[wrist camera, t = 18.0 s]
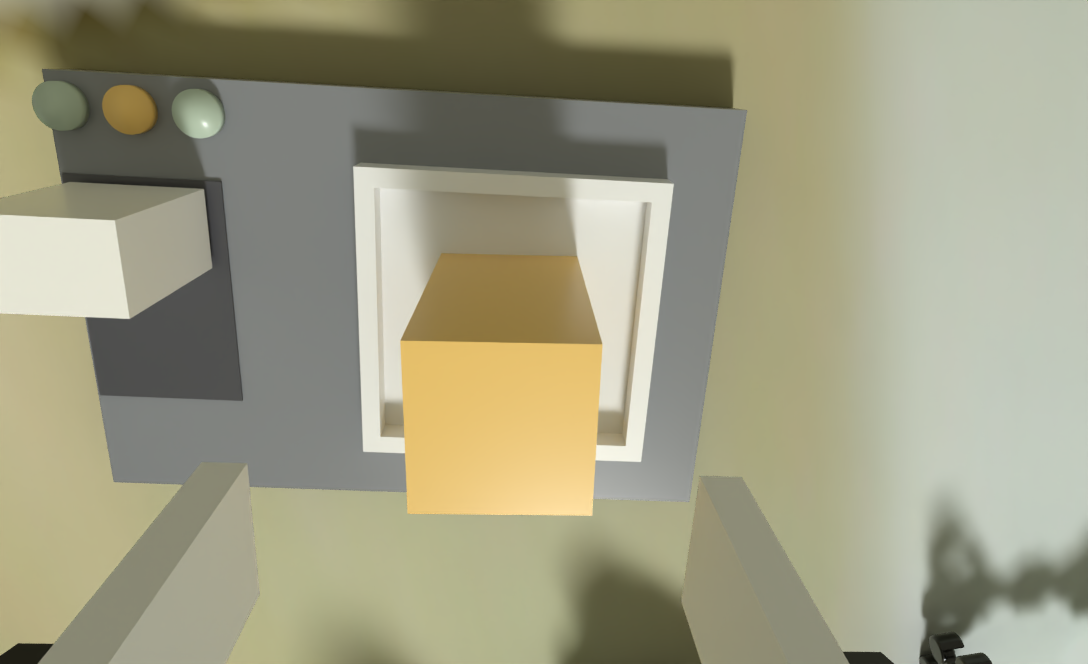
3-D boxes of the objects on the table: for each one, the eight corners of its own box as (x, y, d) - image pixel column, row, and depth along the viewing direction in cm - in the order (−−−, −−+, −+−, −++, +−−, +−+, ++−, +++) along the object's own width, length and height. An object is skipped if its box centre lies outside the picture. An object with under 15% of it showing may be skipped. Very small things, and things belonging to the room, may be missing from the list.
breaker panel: (129, 460, 27) (92, 497, 25) (66, 69, 22) (11, 68, 20) (680, 480, 28) (695, 517, 25) (733, 108, 23) (756, 111, 21)
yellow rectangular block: (444, 377, 24) (407, 514, 17) (441, 253, 23) (400, 340, 15) (571, 380, 24) (592, 515, 17) (577, 256, 23) (602, 344, 15)
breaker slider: (83, 261, 22) (-34, 311, 18) (70, 182, 21) (-58, 211, 17) (212, 267, 22) (129, 318, 18) (204, 189, 22) (114, 220, 17)
